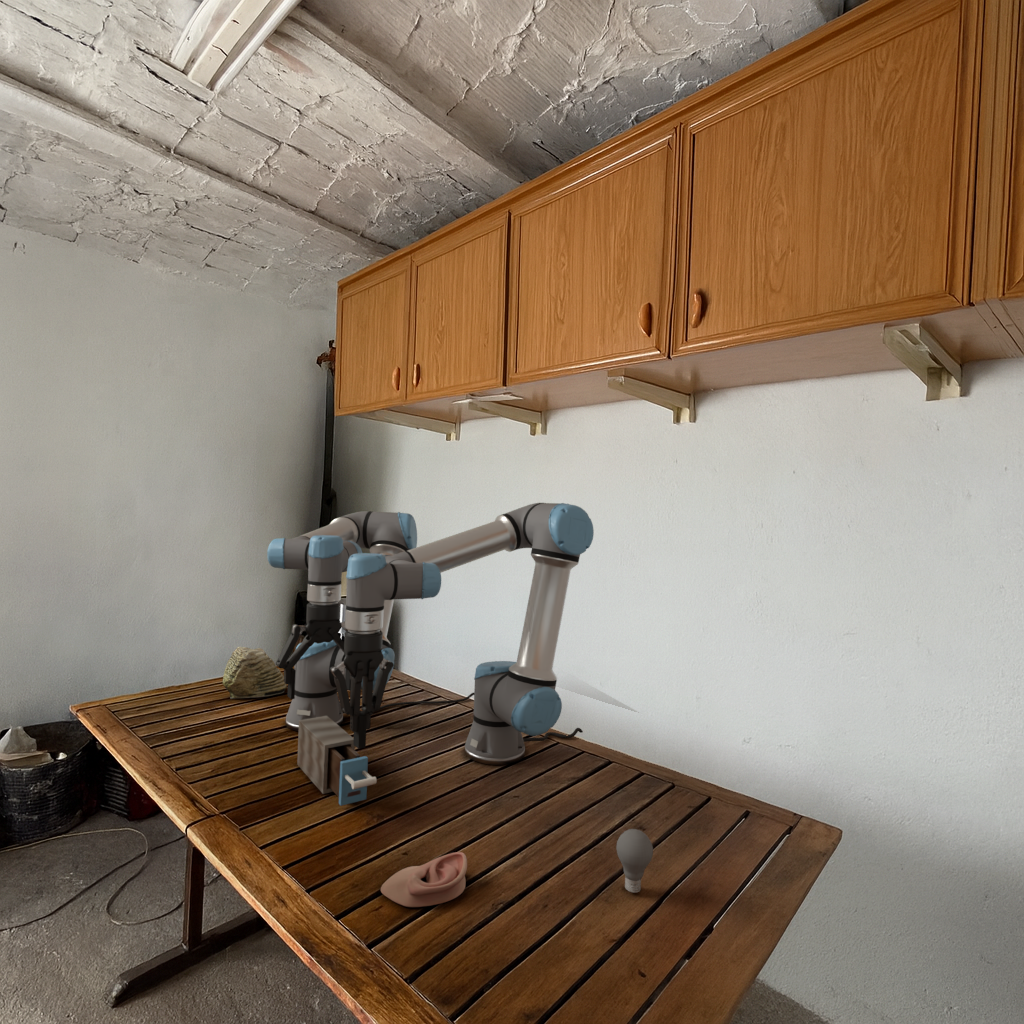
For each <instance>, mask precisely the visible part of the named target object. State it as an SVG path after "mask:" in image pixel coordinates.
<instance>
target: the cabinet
mask: <svg viewBox="0 0 1024 1024" xmlns="http://www.w3.org/2000/svg"><path fill="white" fill-rule="evenodd" d="M297 733H298V734H297V735H298V736H297V737H298V738H297V758H296V759H297V762H296V763H297V764H296V765H297V766H298V767H299V768H300V769H301V771H302V772H303V773H304V774H305V775H306V777H307V778H308V779H309V780H310V782H311V783H312V784H313V785H314V786H315V787H316V788H317V789H318V790H319V791H320V792H321V794H322V795H326V794H329V793H334V792H333V791H332V789H331V788H330V787H329V786H328V785H327V771H328V748H332V747H337V746H342V745H347V744H348V745H349V746H350V747H351V748H352V749H353V750H354V751H356V750H355V749H356V748H355V747H356V746H355V745H353V740H354V736H352V735H350V734H349V733H348V731H346V730H345V729H343V728H342V727H341V726H340V725H337V724H336V723H335V722H334V721H333V720H332V719H330V718H329V717H328V716H322V717H316V718H310V719H304V720H299V731H298V732H297Z"/></svg>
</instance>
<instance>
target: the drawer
mask: <svg viewBox="0 0 1024 1024" xmlns="http://www.w3.org/2000/svg"><path fill="white" fill-rule="evenodd" d="M368 767H369V758H368V756H366V755H363V756H361V755H360V754H359V753H358V752H357V751H356V750H353V749H352V748H351V747H350V746H349V745H348V744H347V745H342V746H337V747H332V748H328V771H327V785H328V786H329V787H330V788H331V789H332V791H333V792H332V793H334V794H335V795H336V797H338V805H339V806H340V807H341V806H346V805H350V804H353V803H358V802H361V801H365V800H367V795H368V793H367V791H368V787H369V786H374V785H376V784H377V781H378V779H377V777H376V776H372V775H371V774H370V773H368V772H369V771H368Z"/></svg>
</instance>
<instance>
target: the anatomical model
mask: <svg viewBox="0 0 1024 1024" xmlns="http://www.w3.org/2000/svg"><path fill="white" fill-rule="evenodd" d="M467 870H468V858H467V856H466V853H464V852H462V851H457V852H456V851H455V852H450V853H448V854H444V855H441V856H439V857H436V858H434V859H432V860H430V861H428V862H426V863H424V864H421V865H411V866H408V867H405V868H402V869H400V870H399V871H396V872H395V873H394V874H392V875H391V876H390V877H389V878H388V879H387V880H386V881H385V882H383V884H382V885H381V886H380V893H381V894H382V895H383V896H384V897H386V898H388V899H389V900H391V901H392V902H394V903H396V904H398V905H400V906H403V907H407V908H422V907H430V906H435V905H440V904H443V903H446V902H449V901H452V900H454V899H456V898H458V897H459V896H460V895H461V894H463V892H464V891H465V889H466V882H467V880H466V874H467Z"/></svg>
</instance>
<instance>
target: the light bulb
mask: <svg viewBox="0 0 1024 1024" xmlns="http://www.w3.org/2000/svg"><path fill="white" fill-rule="evenodd" d="M615 849H616V854H617V857H618V859H619V861H620V863H621V865H622V867H623V873H624V874H623V875H624V876H625V878H624V888H625V890H627V891H628V892H630V893H634V894H635V893H639V892H640V891H641V889H642V887H641V886H642V879H643V877H644V875H645V871H646V868H647V867H648V866H649V864H650V863H651V861H652V859H653V855H654V847H653V843H652V841H651V838H649V836H648V835H647V834H646V833H645V832H643V831H642V830H641V829H636V828H629V829H627V830H625V831H623V832H622V833H621V834H620V835H619V837H618V839H617V841H616V847H615Z"/></svg>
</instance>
